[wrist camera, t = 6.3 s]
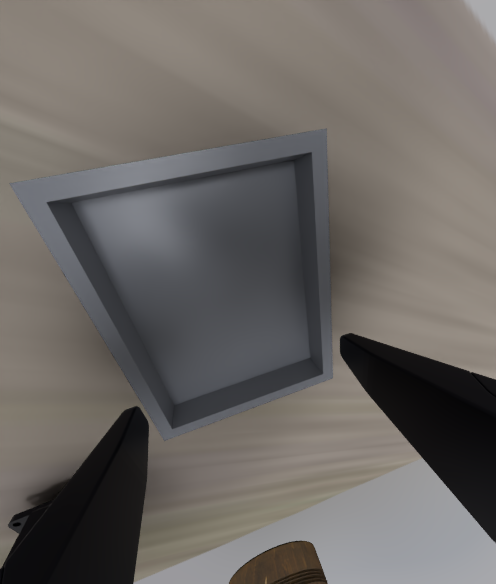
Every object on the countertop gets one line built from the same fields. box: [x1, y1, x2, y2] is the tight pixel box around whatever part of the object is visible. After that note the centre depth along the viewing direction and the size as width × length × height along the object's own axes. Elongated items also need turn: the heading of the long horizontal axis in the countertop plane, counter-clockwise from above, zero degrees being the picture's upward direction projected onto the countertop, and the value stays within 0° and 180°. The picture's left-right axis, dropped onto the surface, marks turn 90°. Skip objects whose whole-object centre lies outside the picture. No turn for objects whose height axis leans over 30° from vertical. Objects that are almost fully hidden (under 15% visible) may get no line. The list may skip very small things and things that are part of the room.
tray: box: [9, 129, 333, 441], centre depth 13 cm, size 16×13×2 cm
